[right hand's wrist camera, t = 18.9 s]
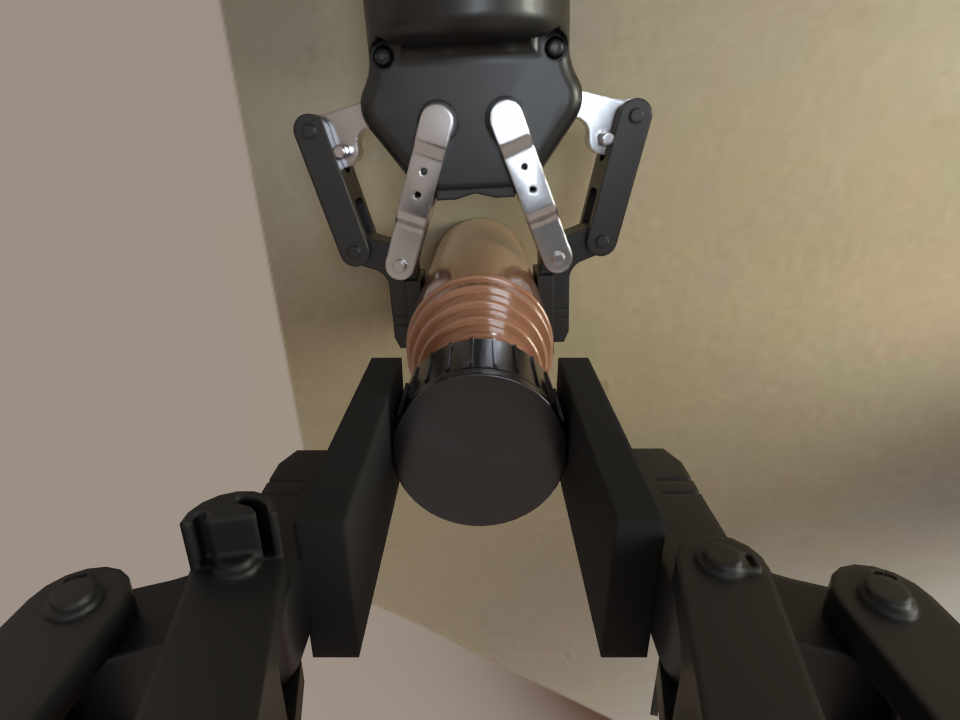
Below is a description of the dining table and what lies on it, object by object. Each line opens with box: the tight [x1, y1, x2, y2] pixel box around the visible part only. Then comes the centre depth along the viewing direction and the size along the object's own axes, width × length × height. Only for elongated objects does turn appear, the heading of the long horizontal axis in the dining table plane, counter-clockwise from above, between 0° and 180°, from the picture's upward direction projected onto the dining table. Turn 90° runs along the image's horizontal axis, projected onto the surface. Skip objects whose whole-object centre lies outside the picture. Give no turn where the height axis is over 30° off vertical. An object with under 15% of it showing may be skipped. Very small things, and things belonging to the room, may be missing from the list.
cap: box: [392, 337, 568, 526], centre depth 14 cm, size 4×4×2 cm
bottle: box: [406, 218, 553, 376], centre depth 22 cm, size 5×5×19 cm
